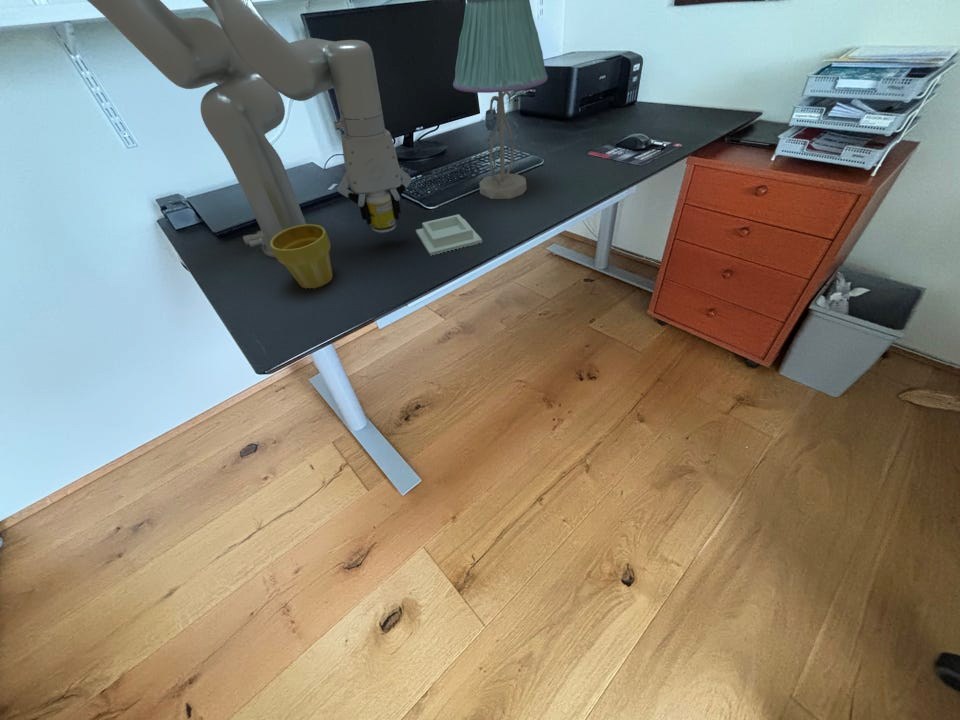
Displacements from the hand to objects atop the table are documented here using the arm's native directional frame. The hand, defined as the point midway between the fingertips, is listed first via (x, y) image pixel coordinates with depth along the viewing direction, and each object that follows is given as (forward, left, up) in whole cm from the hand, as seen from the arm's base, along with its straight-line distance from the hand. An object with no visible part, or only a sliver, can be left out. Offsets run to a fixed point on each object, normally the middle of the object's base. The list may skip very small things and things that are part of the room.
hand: (382, 218), depth 87 cm
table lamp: (+35, +15, -6) cm, 39 cm away
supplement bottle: (0, 0, -2) cm, 2 cm away
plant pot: (-17, -8, -6) cm, 20 cm away
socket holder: (+13, -4, -6) cm, 15 cm away
